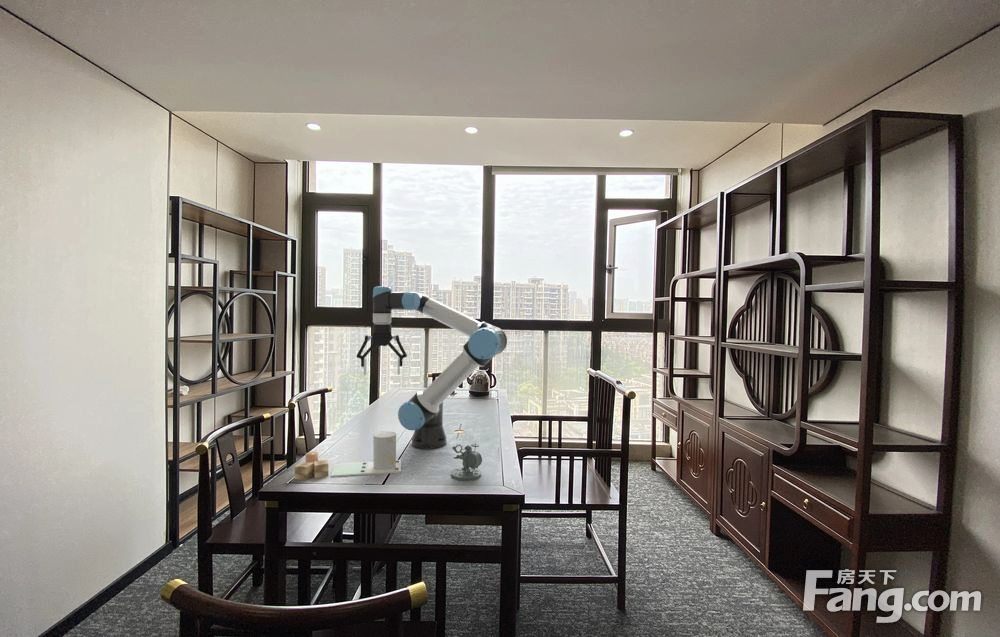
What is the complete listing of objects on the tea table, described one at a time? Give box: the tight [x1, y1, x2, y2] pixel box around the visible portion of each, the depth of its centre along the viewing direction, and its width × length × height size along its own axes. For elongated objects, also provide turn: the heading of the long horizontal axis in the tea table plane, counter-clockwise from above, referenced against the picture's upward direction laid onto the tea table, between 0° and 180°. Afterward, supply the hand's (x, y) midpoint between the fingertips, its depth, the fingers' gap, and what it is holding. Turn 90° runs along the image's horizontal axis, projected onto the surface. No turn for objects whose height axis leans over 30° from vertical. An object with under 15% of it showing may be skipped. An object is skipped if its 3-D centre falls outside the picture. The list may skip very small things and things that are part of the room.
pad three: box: [330, 461, 370, 478], centre depth 166 cm, size 12×12×1 cm
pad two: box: [366, 459, 402, 476], centre depth 168 cm, size 12×12×1 cm
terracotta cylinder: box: [304, 451, 319, 463], centre depth 166 cm, size 4×4×6 cm
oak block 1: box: [294, 461, 314, 481], centre depth 158 cm, size 4×4×4 cm
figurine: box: [451, 442, 483, 482], centre depth 161 cm, size 11×11×12 cm
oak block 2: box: [313, 459, 329, 479], centre depth 161 cm, size 4×4×4 cm
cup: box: [372, 430, 397, 470], centre depth 168 cm, size 8×8×12 cm
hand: (382, 374), depth 188 cm, fingers open, 13 cm apart
